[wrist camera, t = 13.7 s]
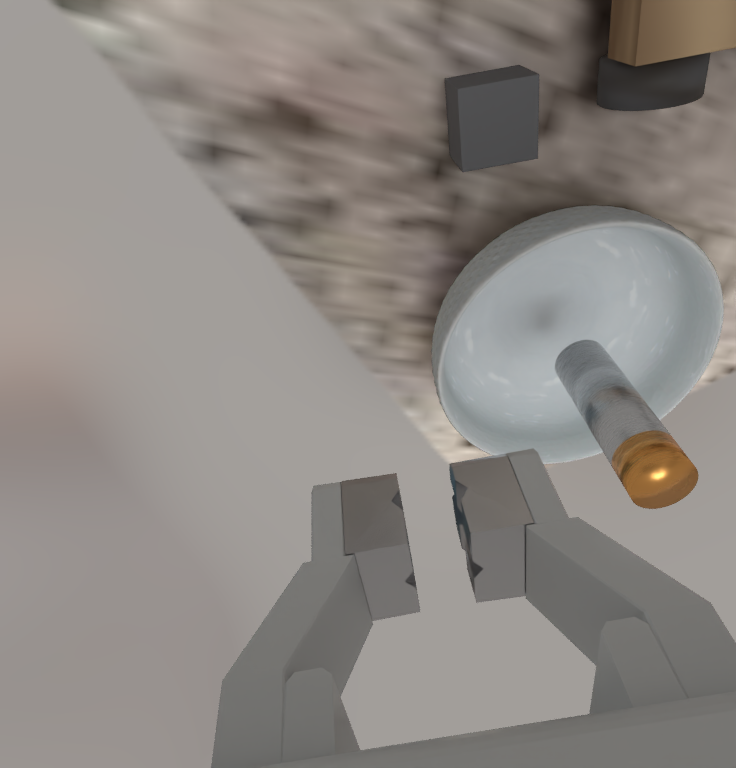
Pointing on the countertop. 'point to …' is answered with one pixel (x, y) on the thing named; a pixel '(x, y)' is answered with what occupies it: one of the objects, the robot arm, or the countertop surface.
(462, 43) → the countertop surface
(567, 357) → the grey and orange cylinder
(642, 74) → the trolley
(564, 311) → the cereal bowl
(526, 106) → the dark grey cube
